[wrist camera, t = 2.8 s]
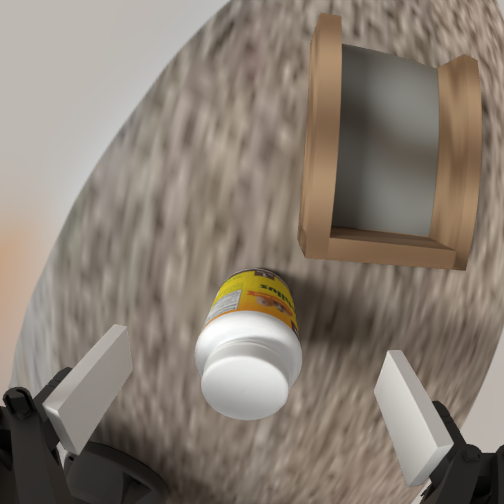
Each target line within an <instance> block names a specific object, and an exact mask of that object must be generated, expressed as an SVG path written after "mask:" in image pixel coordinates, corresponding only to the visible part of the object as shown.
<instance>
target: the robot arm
mask: <svg viewBox="0 0 504 504" xmlns="http://www.w3.org/2000/svg"><path fill="white" fill-rule="evenodd" d="M132 371H133V363H132V357H131V351H130V344H129V337H128V329H127V327H126V326H121V325H116V324H114V325H113V326H112V327H111V328H110V329H109V330H108V331H107V333H106V334H105V335H104V336H103V337H102V338H101V339H100V340H99V341H98V342H97V343H96V344H95V345H94V346H93V347H92V349H91V350H90V351H89V352H88V353H87V354H86V355H85V356H84V357H83V358H82V359H81V361H80V362H79V363H78V364H77V365H76V366H75V367H74V368H70V367H66V368H65V369H63V370H61V371H59V372H58V373H57V374H56V375H55V376H54V377H53V379H52V380H51V381H50V382H49V383H48V385H46V386H45V387H44V388H43V389H42V390H41V391H40V393H39V394H38V395H37V396H36V397H35V398H34V399H32V397H31V394H30V392H29V391H28V390H27V389H26V388H23V387H14V388H11V389H9V390H8V391H6V393H5V394H4V396H3V401H4V403H5V405H6V407H3V406H0V504H165V502H166V499H167V496H168V488H167V486H166V484H165V483H164V482H163V480H162V479H161V478H160V477H159V476H158V475H157V474H155V473H154V472H153V471H152V470H150V469H149V468H148V467H146V466H145V465H143V464H141V463H140V462H138V461H137V460H135V459H133V458H131V457H129V456H127V455H125V454H123V453H121V452H119V451H117V450H114V449H112V448H109V447H107V446H104V445H100V444H97V443H92V442H87V441H88V440H89V438H90V436H91V435H92V433H93V432H94V430H95V428H96V427H97V425H98V424H99V422H100V420H101V419H102V417H103V416H104V414H105V413H106V411H107V409H108V408H109V406H110V405H111V403H112V402H113V400H114V398H115V397H116V395H117V394H118V392H119V391H120V389H121V388H122V386H123V385H124V383H125V381H126V380H127V378H128V377H129V375H130V374H131V372H132ZM374 394H375V396H376V399H377V402H378V404H379V407H380V410H381V412H382V415H383V418H384V421H385V423H386V426H387V429H388V432H389V435H390V437H391V440H392V443H393V446H394V449H395V452H396V455H397V458H398V461H399V464H400V467H401V470H402V473H403V476H404V479H405V482H406V486H407V488H408V487H413V486H418V485H422V484H423V483H424V482H425V481H426V480H427V479H428V477H430V479H431V482H432V483H431V484H430V485H429V486H428V487H427V489H426V490H425V491H424V492H423V493H422V495H421V496H423V495H424V496H423V499H422V500H421V502H420V504H504V445H502V446H500V447H499V449H498V450H497V451H496V453H482V452H481V450H480V449H479V448H478V447H476V446H474V445H470V444H466V442H465V440H464V438H463V437H462V435H461V433H460V431H459V429H458V428H457V426H456V424H455V423H454V420H453V419H452V417H451V416H450V414H449V412H448V410H447V408H446V407H445V406H444V405H443V404H442V403H440V402H439V401H431V400H430V398H429V396H428V395H427V393H426V391H425V389H424V388H423V386H422V384H421V382H420V381H419V379H418V377H417V376H416V374H415V372H414V371H413V369H412V367H411V366H410V364H409V362H408V361H407V359H406V357H405V356H404V354H403V352H402V351H401V350H388V352H387V355H386V358H385V361H384V364H383V367H382V370H381V373H380V375H379V378H378V381H377V384H376V386H375V389H374ZM59 441H60V442H61V444H62V446H63V448H64V449H65V450H67V451H68V453H67V454H66V457H65V461H64V468H63V467H62V464H61V460H60V456H59V452H58V449H57V447H56V446H57V444H58V443H59Z"/></svg>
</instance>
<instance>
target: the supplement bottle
mask: <svg viewBox="0 0 504 504" xmlns="http://www.w3.org/2000/svg"><path fill="white" fill-rule="evenodd" d="M195 363H196V367H197V370H198V372H199V374H200V376H201V378H202V381H201V389H202V393H203V396H204V398H205V399H206V401H207V402H208V403H209V405H210V406H211V407H212V408H214V409H215V410H216V411H218V412H219V413H221V414H223V415H225V416H227V417H231V418H234V419H239V420H257V419H261V418H265V417H267V416H270V415H272V414H274V413H275V412H277V411H278V410H279V409H280V408H281V407H282V406H283V405H284V404H285V402H286V400H287V398H288V395H289V388H290V387H291V386H292V385H293V383H294V382H295V381H296V379H297V377H298V375H299V373H300V370H301V367H302V348H301V343H300V337H299V331H298V324H297V318H296V313H295V307H294V301H293V297H292V294H291V291H290V289H289V287H288V286H287V284H286V283H285V282H284V281H283V280H282V279H281V278H280V277H279V276H277V275H276V274H274V273H272V272H270V271H267V270H263V269H257V268H251V269H245V270H241V271H239V272H237V273H235V274H233V275H231V276H230V277H229V278H228V279H227V280H226V281H225V282H224V283H223V284H222V286H221V287H220V289H219V291H218V294H217V296H216V298H215V300H214V303H213V305H212V307H211V310H210V312H209V314H208V317H207V319H206V321H205V324H204V326H203V328H202V331H201V333H200V335H199V338H198V340H197V344H196V348H195Z"/></svg>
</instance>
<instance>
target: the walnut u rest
mask: <svg viewBox="0 0 504 504" xmlns="http://www.w3.org/2000/svg"><path fill="white" fill-rule="evenodd" d="M481 153H482V110H481V92H480V80H479V70H478V62H477V60H476V59H474V58H471V57H469V56H467V55H465V54H463V55H461V56H459V57H458V58H456V59H454V60H452V61H450V62H448V63H446V64H444V65H443V66H441V67H439V68H437V69H436V68H433V67H430V66H427V65H424V64H421V63H418V62H415V61H411V60H408V59H405V58H401V57H398V56H394V55H390V54H387V53H383V52H379V51H374V50H370V49H366V48H361V47H356V46H351V45H346V44H342V29H341V16H337V15H331V14H325V13H320V16H319V19H318V22H317V25H316V28H315V31H314V34H313V37H312V40H311V43H310V71H309V93H308V111H307V128H306V143H305V157H304V170H303V182H302V194H301V205H300V215H299V226H298V235H297V240H298V242H299V244H300V247H301V249H302V252H303V254H304V256H305V258H314V259H327V260H339V261H351V262H364V263H376V264H389V265H401V266H414V267H427V268H439V269H452V270H464V271H466V267H467V263H468V258H469V253H470V248H471V243H472V237H473V231H474V225H475V219H476V211H477V204H478V195H479V185H480V172H481Z"/></svg>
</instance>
